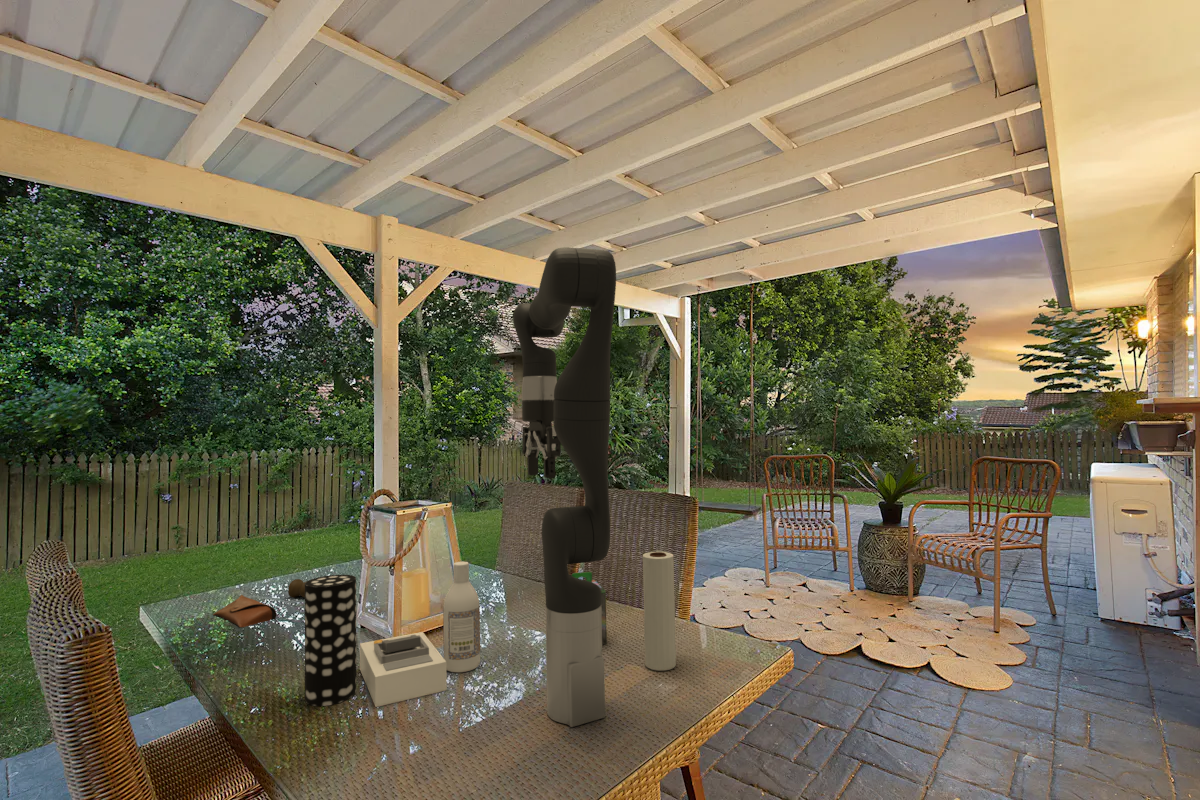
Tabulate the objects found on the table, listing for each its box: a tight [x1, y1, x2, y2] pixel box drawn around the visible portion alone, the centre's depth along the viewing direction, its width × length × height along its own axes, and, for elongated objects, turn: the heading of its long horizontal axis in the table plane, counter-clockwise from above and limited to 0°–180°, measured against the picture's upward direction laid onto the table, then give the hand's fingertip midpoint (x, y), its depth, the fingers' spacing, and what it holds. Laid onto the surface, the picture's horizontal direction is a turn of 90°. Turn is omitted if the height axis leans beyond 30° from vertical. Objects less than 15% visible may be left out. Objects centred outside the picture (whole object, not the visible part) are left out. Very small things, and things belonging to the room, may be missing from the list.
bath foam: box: [442, 561, 481, 673], centre depth 118 cm, size 7×7×20 cm
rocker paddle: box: [382, 635, 421, 653], centre depth 112 cm, size 5×6×2 cm
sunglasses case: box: [212, 594, 278, 628], centre depth 151 cm, size 18×7×7 cm
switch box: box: [359, 631, 448, 708], centre depth 112 cm, size 18×12×6 cm, turn 30°
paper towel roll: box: [642, 549, 677, 672], centre depth 117 cm, size 7×6×21 cm
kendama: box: [287, 578, 308, 599], centre depth 164 cm, size 6×10×20 cm
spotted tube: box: [304, 574, 357, 707], centre depth 106 cm, size 8×8×20 cm
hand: (541, 476), depth 125 cm, fingers open, 8 cm apart
